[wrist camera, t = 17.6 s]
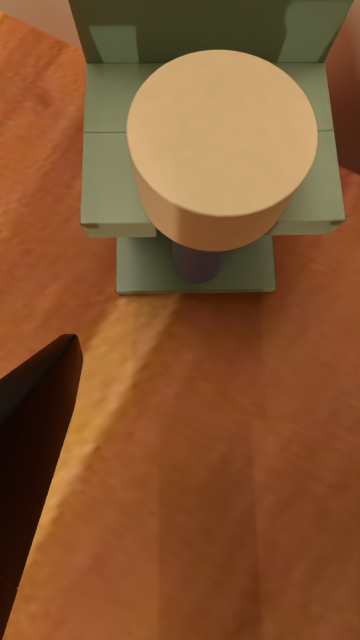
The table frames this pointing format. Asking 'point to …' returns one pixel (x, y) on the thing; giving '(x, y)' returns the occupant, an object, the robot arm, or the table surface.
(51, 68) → the table surface
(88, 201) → the stand
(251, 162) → the peg
